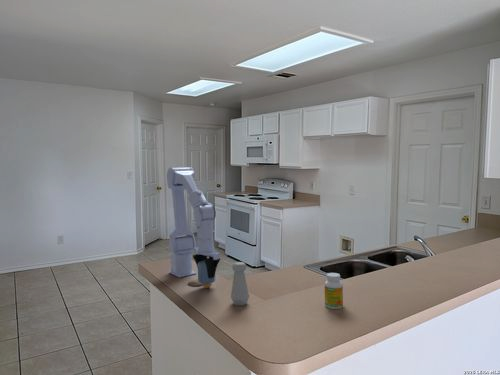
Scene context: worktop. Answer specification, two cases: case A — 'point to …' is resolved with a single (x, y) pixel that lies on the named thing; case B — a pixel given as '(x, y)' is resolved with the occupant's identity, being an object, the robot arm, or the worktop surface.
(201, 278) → the cup
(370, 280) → the worktop surface
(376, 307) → the worktop surface
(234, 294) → the salt shaker
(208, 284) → the ball
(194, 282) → the disc
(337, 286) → the supplement bottle
